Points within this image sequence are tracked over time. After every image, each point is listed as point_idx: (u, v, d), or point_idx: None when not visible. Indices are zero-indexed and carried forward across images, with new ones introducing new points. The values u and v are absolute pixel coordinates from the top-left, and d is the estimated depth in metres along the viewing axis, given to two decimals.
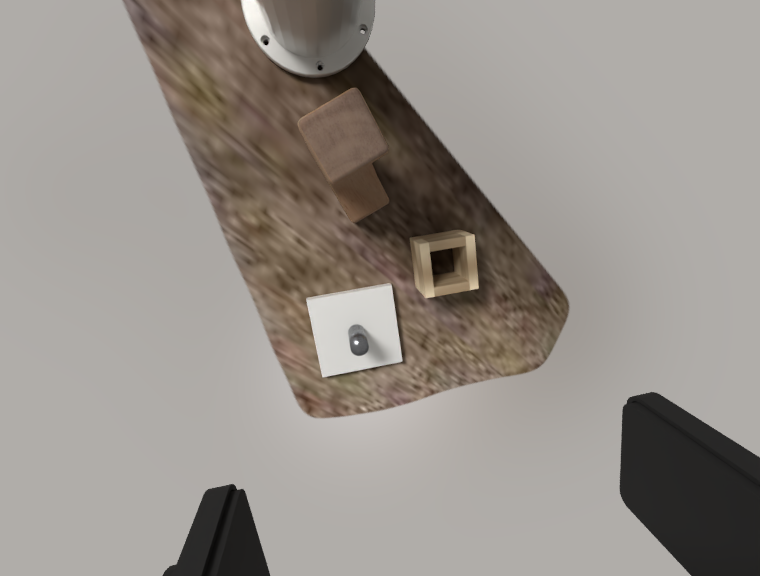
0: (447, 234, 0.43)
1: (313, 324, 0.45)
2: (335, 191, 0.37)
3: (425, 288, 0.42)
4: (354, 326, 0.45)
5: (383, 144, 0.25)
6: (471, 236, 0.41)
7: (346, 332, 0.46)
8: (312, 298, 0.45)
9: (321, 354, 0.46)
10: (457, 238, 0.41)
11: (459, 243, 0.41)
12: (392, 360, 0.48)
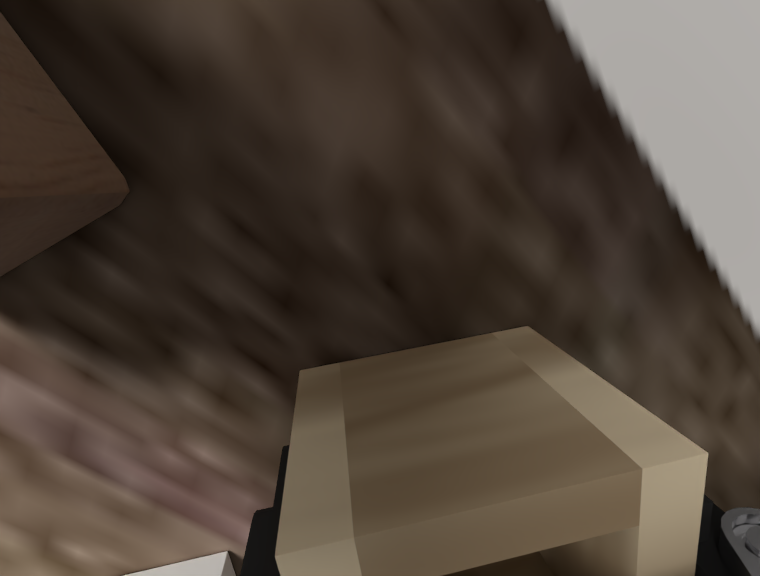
0: (484, 380, 0.08)
1: None
2: None
3: None
4: None
5: None
6: (684, 466, 0.05)
7: None
8: None
9: None
10: (580, 486, 0.05)
11: (592, 518, 0.05)
12: None
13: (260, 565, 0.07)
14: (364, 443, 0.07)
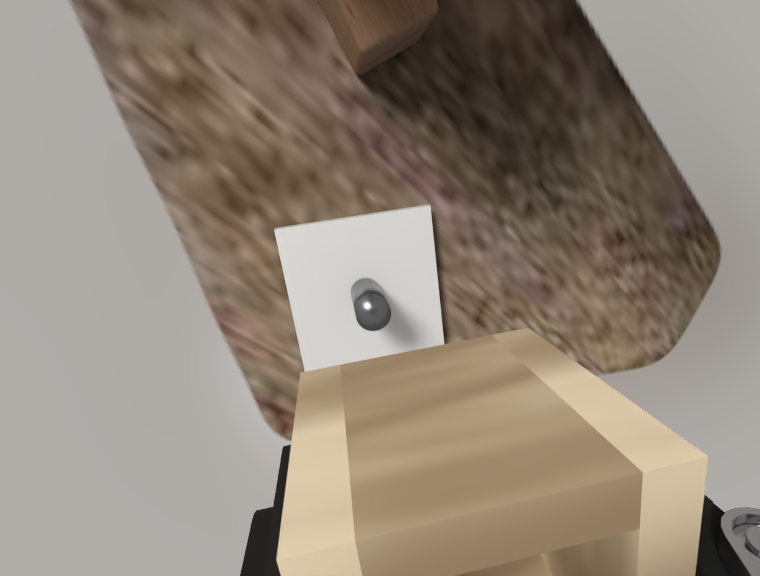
0: (484, 383, 0.08)
1: (287, 276, 0.25)
2: None
3: None
4: (361, 280, 0.25)
5: None
6: (684, 469, 0.05)
7: (347, 292, 0.26)
8: (285, 227, 0.24)
9: (303, 331, 0.26)
10: (581, 490, 0.05)
11: (593, 521, 0.05)
12: (426, 343, 0.27)
13: (260, 565, 0.07)
14: (365, 446, 0.07)
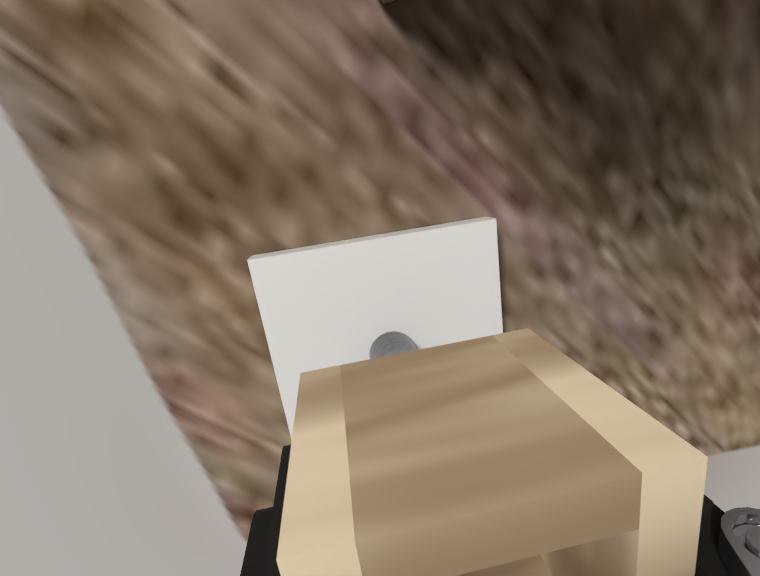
0: (484, 383, 0.08)
1: (270, 332, 0.16)
2: None
3: None
4: (387, 336, 0.16)
5: None
6: (684, 470, 0.05)
7: (365, 354, 0.16)
8: (266, 255, 0.15)
9: None
10: (580, 490, 0.05)
11: (592, 522, 0.05)
12: None
13: (260, 565, 0.07)
14: (365, 446, 0.07)
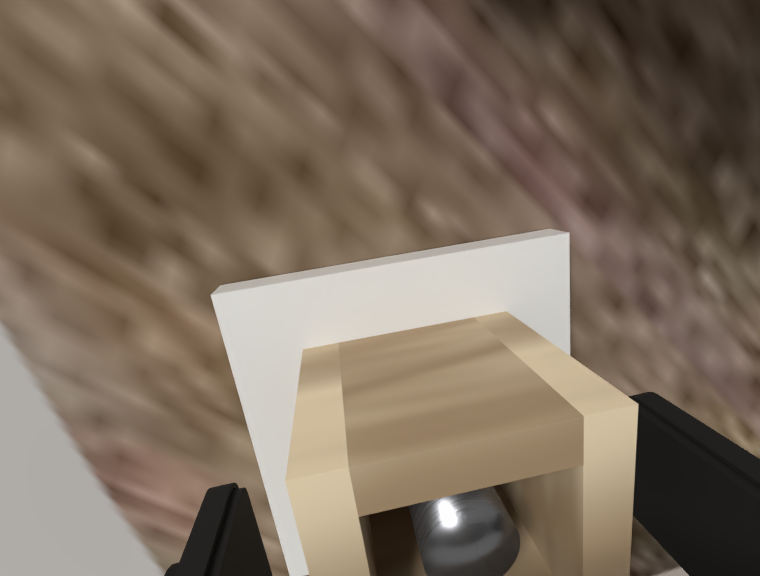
0: (463, 354, 0.09)
1: (247, 395, 0.11)
2: None
3: None
4: None
5: None
6: (619, 414, 0.07)
7: None
8: (240, 287, 0.10)
9: (284, 503, 0.12)
10: (533, 430, 0.06)
11: (544, 457, 0.07)
12: None
13: None
14: (358, 403, 0.08)
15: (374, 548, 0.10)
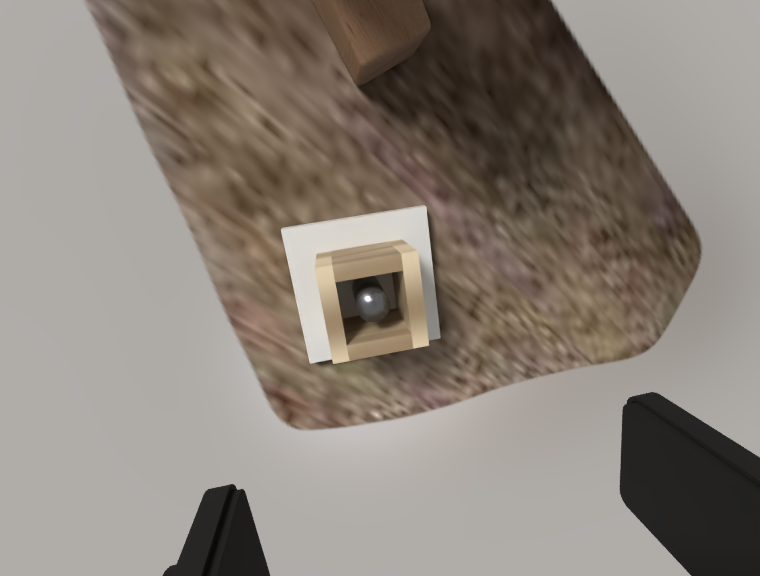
0: (376, 248, 0.25)
1: (293, 272, 0.27)
2: None
3: (331, 347, 0.23)
4: None
5: None
6: (412, 254, 0.22)
7: (349, 287, 0.27)
8: (291, 227, 0.26)
9: (307, 324, 0.28)
10: (386, 257, 0.22)
11: (390, 266, 0.22)
12: None
13: None
14: (336, 258, 0.24)
15: (344, 329, 0.26)
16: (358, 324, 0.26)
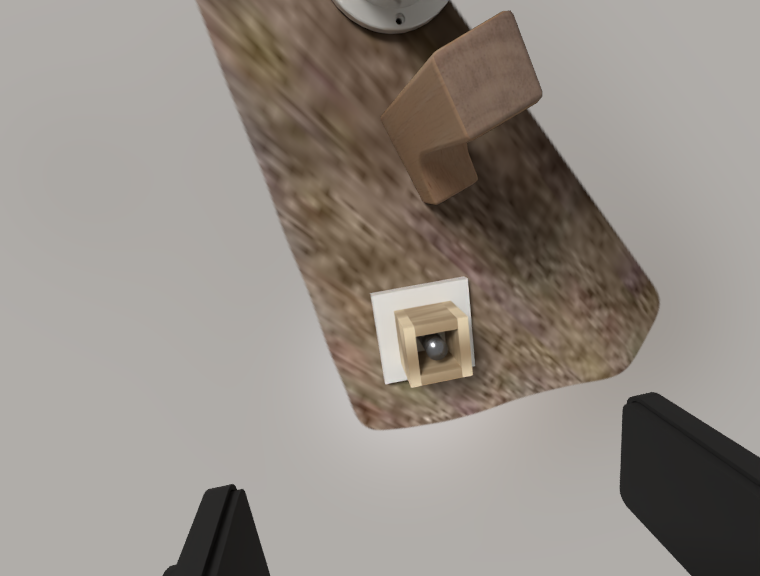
0: (437, 310, 0.38)
1: (378, 323, 0.39)
2: (421, 165, 0.31)
3: (410, 377, 0.36)
4: None
5: (537, 88, 0.19)
6: (464, 318, 0.35)
7: None
8: (377, 293, 0.39)
9: (385, 358, 0.40)
10: (447, 321, 0.35)
11: (450, 326, 0.35)
12: None
13: None
14: (413, 319, 0.36)
15: None
16: (422, 359, 0.39)
